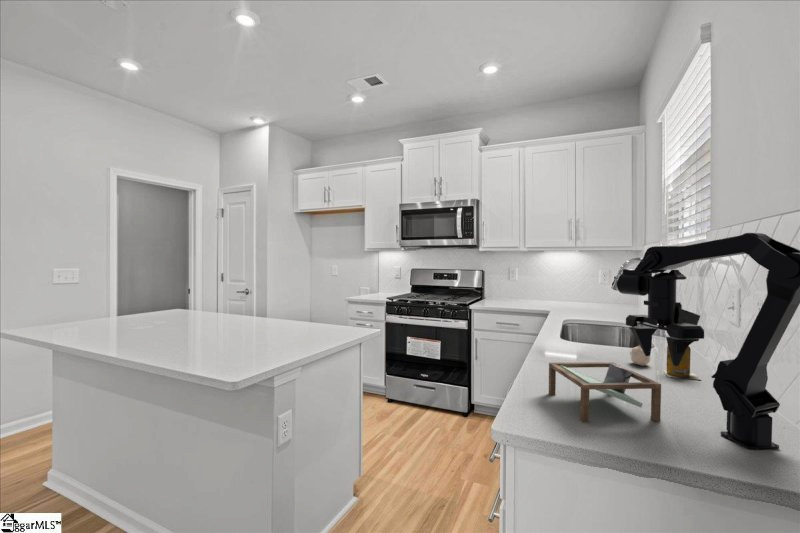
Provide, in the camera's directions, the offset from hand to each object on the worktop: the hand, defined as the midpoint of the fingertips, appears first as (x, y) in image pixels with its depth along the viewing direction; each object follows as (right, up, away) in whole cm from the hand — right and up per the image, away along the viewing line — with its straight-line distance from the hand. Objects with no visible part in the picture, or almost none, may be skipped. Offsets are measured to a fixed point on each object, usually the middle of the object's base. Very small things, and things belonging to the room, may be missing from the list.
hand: (661, 360), depth 94 cm
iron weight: (-11, -7, +2) cm, 13 cm away
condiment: (+24, -12, +26) cm, 38 cm away
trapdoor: (-15, -7, +1) cm, 17 cm away
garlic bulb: (+19, -11, +38) cm, 44 cm away
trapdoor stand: (-14, -12, +2) cm, 19 cm away
